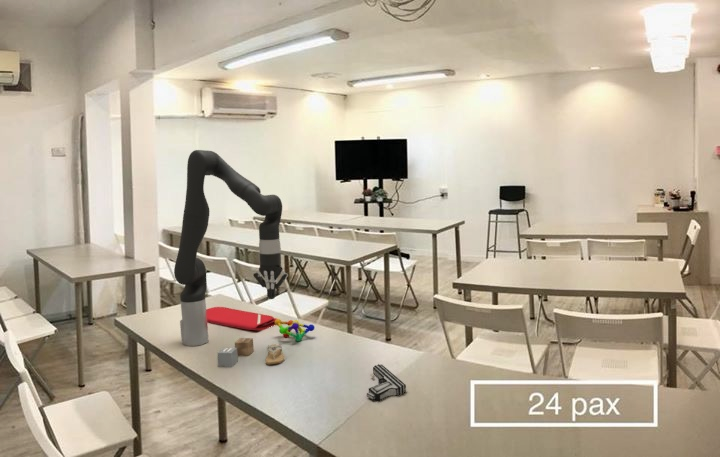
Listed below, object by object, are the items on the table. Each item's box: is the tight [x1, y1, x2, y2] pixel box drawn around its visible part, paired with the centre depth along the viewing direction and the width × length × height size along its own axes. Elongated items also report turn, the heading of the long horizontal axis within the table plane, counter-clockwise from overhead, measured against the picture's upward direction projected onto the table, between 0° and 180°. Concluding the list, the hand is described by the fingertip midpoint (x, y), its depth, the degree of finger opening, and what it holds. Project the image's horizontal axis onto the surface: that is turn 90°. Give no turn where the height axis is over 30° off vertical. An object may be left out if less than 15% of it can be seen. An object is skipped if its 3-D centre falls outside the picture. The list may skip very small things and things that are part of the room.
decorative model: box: [275, 318, 315, 342], centre depth 202 cm, size 13×9×15 cm
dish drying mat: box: [206, 306, 278, 332], centre depth 228 cm, size 16×41×4 cm, turn 55°
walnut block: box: [234, 337, 255, 357], centre depth 188 cm, size 5×5×5 cm
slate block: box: [217, 347, 239, 368], centre depth 179 cm, size 5×5×5 cm
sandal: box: [265, 343, 285, 365], centre depth 183 cm, size 7×16×5 cm, turn 15°
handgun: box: [366, 363, 407, 402], centre depth 157 cm, size 3×19×12 cm
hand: (271, 298), depth 185 cm, fingers closed
